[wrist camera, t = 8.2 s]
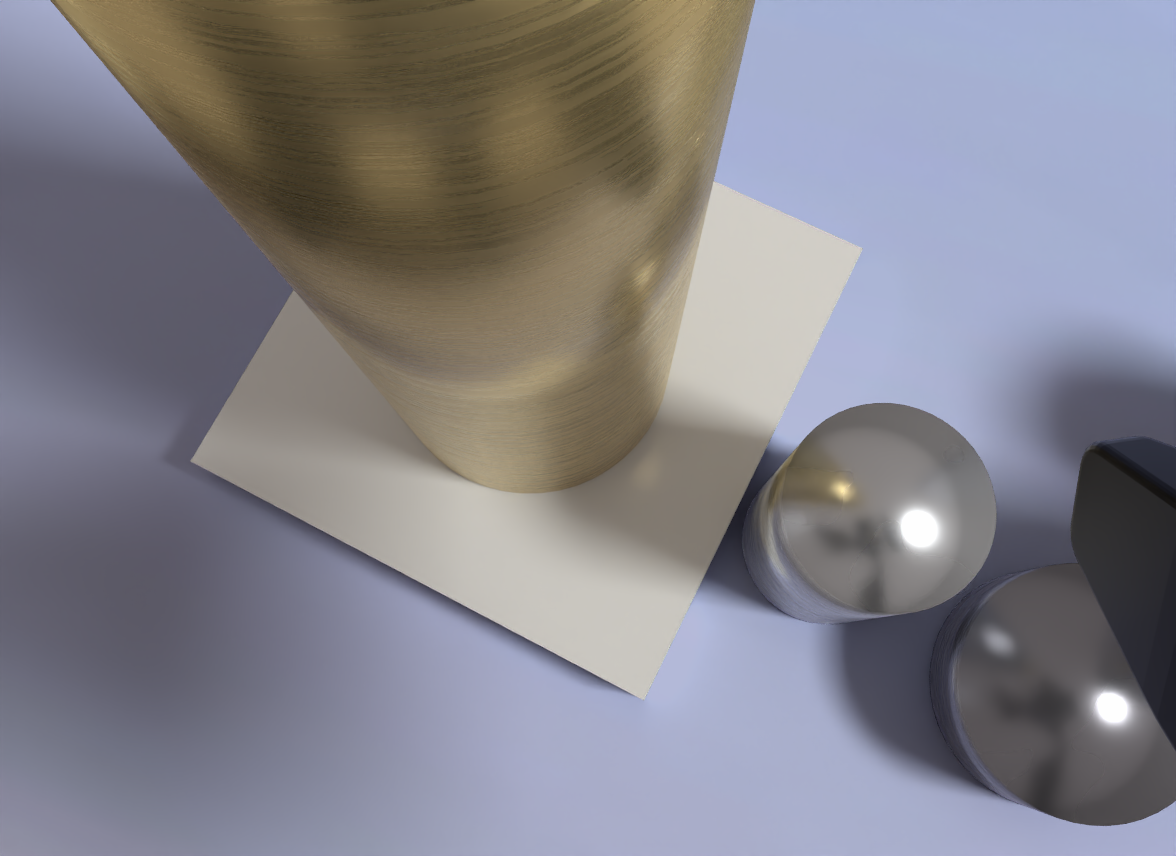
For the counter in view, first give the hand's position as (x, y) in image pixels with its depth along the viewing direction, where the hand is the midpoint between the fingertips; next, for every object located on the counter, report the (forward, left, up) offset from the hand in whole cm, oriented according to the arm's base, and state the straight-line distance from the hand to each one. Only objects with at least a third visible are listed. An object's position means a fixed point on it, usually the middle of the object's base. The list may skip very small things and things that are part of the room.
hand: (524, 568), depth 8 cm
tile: (+3, +2, -8) cm, 9 cm away
